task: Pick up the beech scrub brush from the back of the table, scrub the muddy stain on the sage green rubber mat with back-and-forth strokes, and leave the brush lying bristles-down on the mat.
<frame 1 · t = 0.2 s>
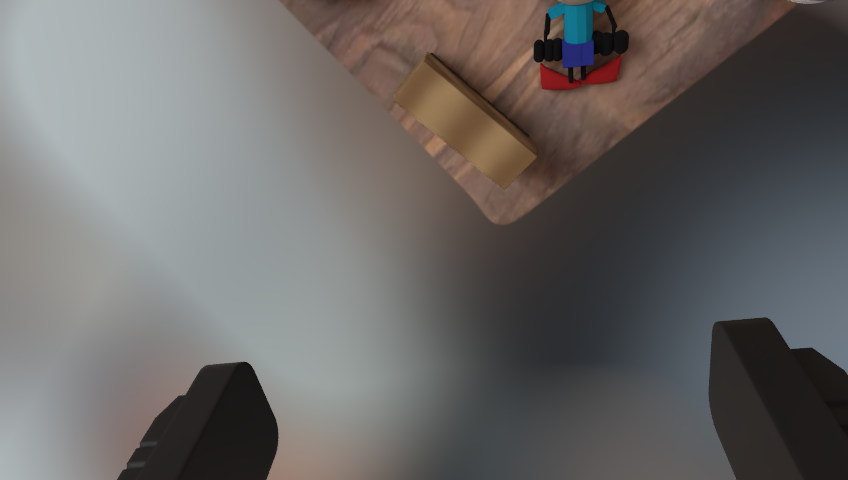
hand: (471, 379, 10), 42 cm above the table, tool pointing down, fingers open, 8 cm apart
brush: (467, 110, 52), on the table
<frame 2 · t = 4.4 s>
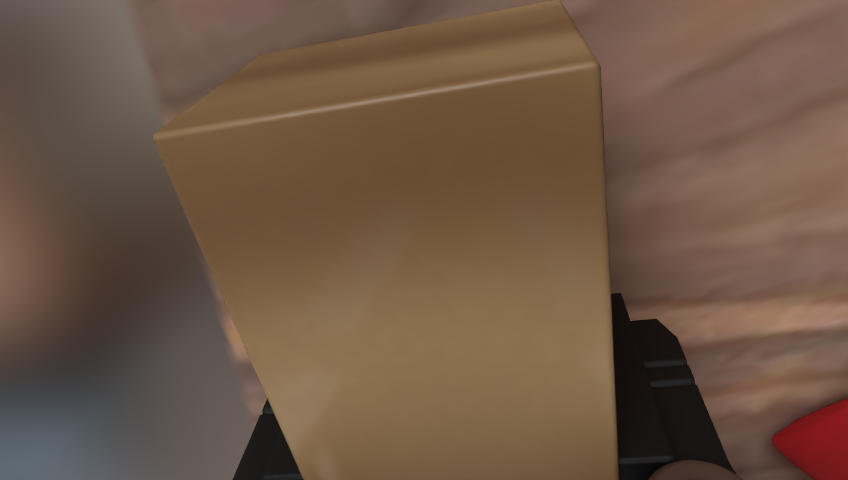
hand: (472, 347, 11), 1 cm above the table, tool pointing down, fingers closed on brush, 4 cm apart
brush: (474, 321, 12), on the table, touching gripper
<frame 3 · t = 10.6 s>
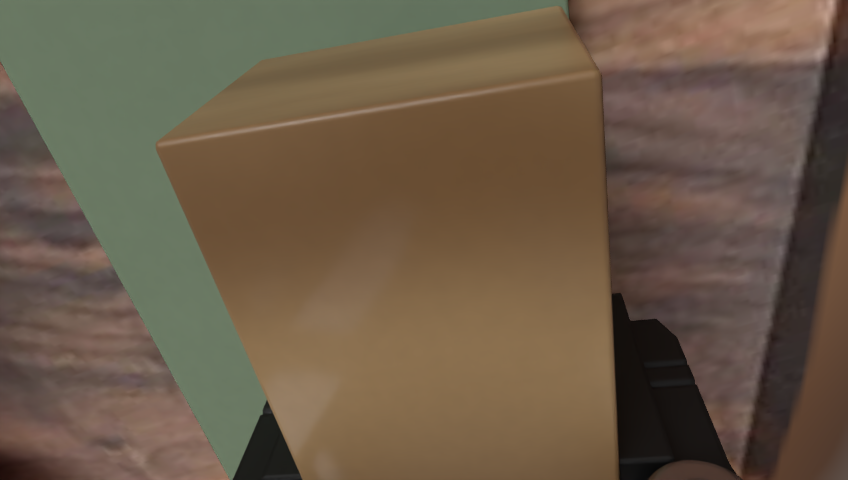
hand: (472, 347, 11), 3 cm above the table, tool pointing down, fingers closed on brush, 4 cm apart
mat: (348, 268, 14), on the table
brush: (475, 324, 12), point 2 cm above the table, touching gripper
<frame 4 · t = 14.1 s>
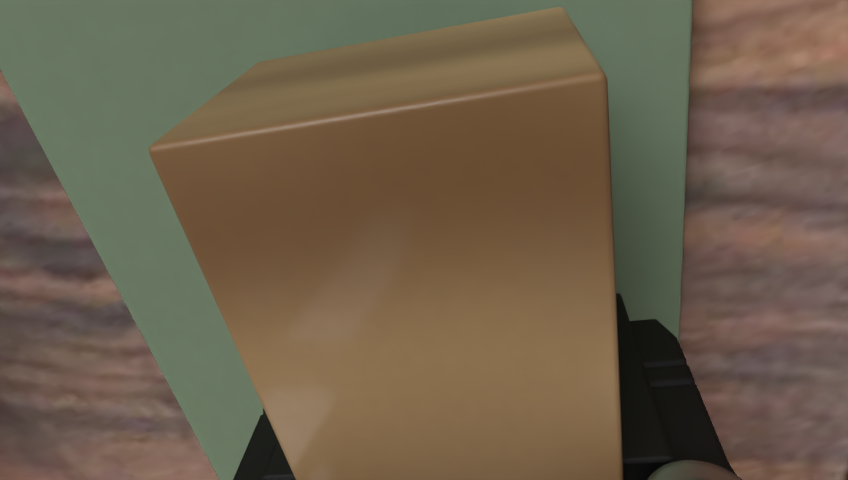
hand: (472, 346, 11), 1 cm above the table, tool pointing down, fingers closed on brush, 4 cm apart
mat: (397, 307, 12), on the table
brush: (475, 329, 12), point 1 cm above the table, touching gripper
when the fingers open (1 cm above the table, at t = 16.7 s): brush stays where it is, resting on mat.
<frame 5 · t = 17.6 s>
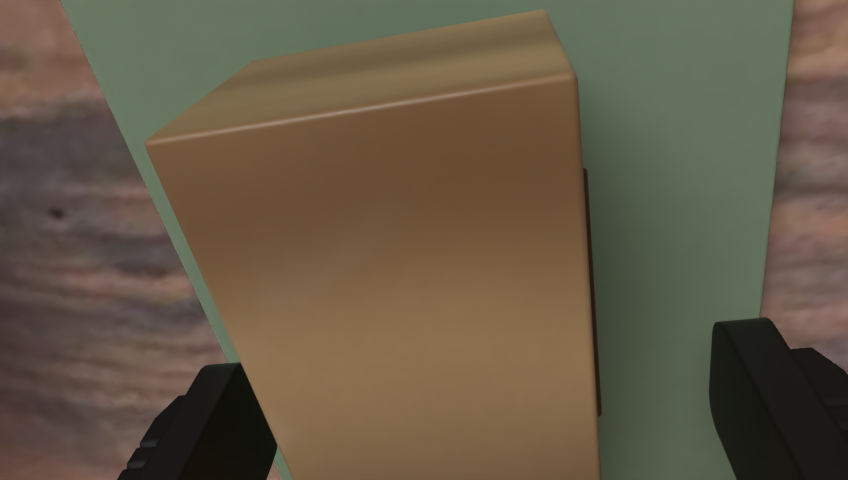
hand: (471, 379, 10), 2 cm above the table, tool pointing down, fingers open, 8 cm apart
mat: (469, 301, 12), on the table
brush: (464, 323, 12), point 1 cm above the table, touching mat
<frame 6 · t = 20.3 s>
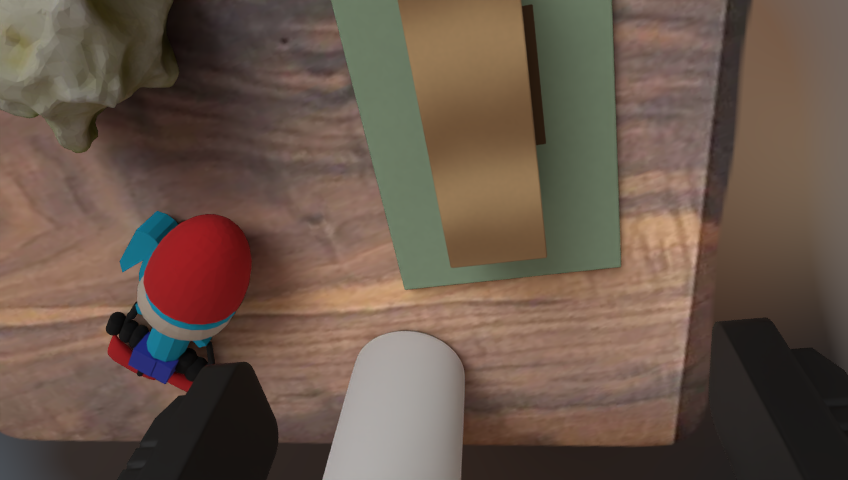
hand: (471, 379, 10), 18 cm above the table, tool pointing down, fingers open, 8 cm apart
mat: (481, 83, 26), on the table
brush: (479, 89, 25), point 1 cm above the table, touching mat
toy figure: (196, 289, 34), on the table
can: (410, 366, 35), on the table
fruit: (107, 5, 26), on the table
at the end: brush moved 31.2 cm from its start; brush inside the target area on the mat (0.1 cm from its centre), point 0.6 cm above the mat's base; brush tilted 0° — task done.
